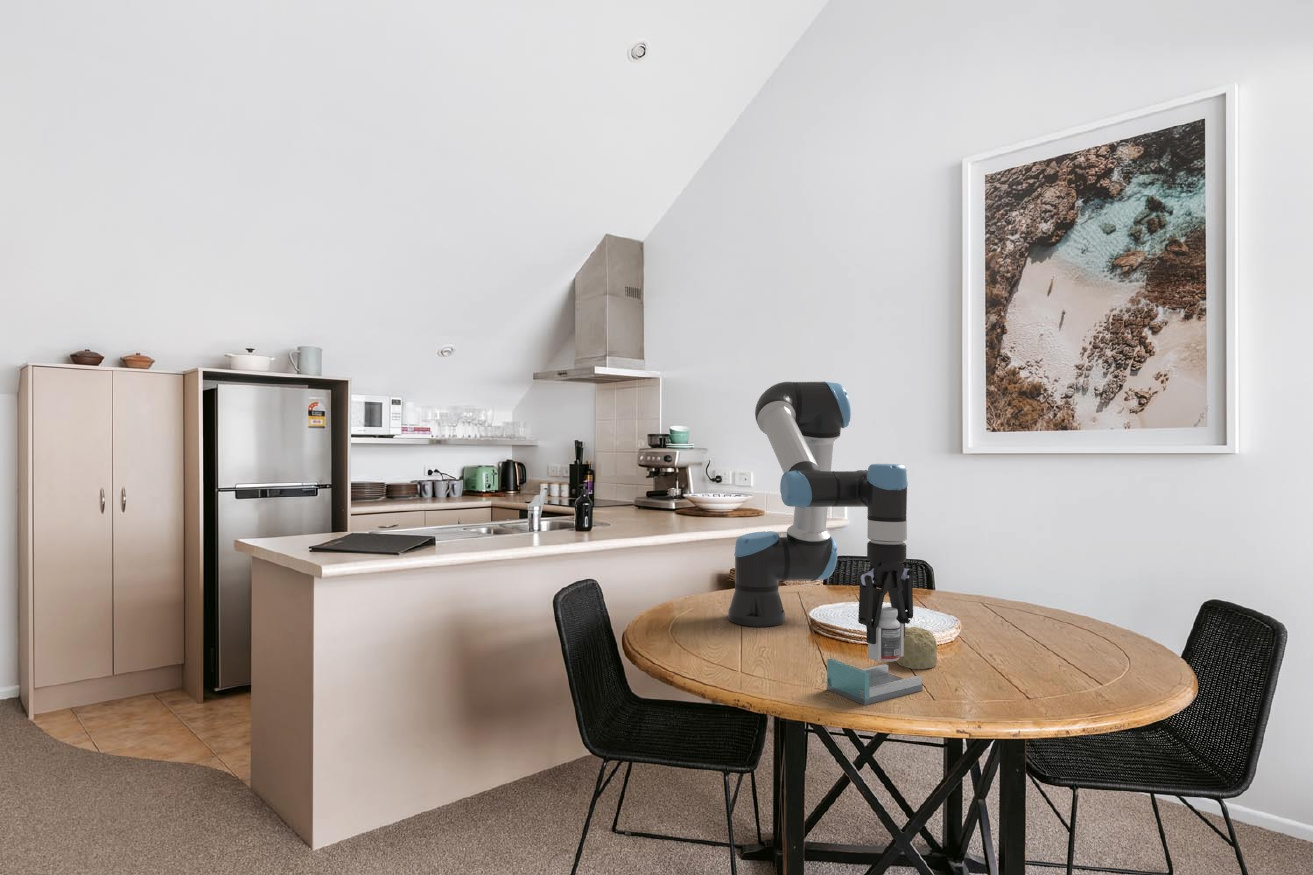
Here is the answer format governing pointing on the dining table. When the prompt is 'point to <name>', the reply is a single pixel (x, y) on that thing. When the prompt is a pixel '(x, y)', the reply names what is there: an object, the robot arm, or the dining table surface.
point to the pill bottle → (889, 634)
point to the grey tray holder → (868, 683)
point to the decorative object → (918, 649)
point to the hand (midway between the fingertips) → (885, 656)
